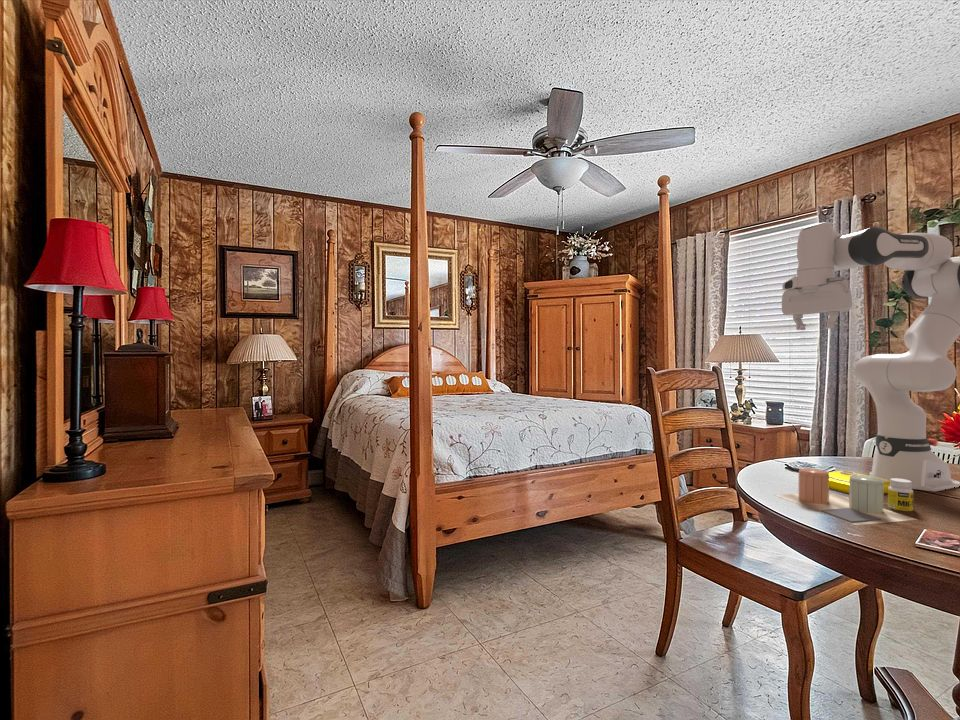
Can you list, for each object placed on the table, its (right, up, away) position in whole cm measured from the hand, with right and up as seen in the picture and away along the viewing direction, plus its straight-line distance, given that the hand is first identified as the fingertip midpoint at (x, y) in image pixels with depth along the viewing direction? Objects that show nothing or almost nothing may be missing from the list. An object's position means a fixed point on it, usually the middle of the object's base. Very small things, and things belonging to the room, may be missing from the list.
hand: (814, 329), depth 140 cm
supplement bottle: (+8, -47, -19) cm, 51 cm away
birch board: (-6, -47, -18) cm, 50 cm away
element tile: (+10, -47, 0) cm, 48 cm away
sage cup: (-1, -45, -20) cm, 49 cm away
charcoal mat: (-8, -45, -24) cm, 52 cm away
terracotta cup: (-9, -45, -12) cm, 48 cm away
